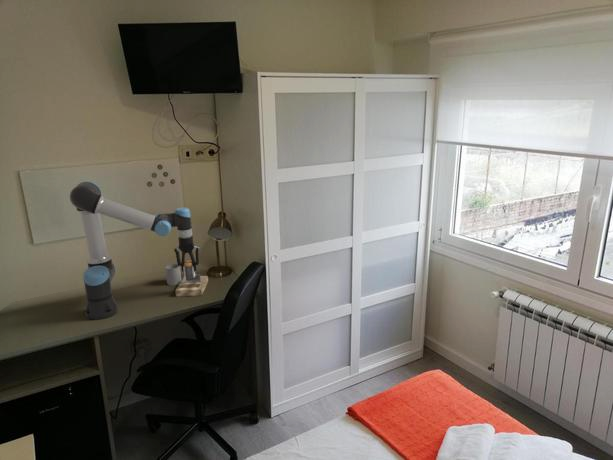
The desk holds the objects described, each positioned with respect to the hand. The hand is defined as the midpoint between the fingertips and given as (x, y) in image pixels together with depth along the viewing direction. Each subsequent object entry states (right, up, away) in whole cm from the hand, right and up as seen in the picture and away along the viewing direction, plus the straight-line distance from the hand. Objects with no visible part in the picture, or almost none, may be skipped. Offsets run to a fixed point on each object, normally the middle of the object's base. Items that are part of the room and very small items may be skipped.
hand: (189, 276), depth 252 cm
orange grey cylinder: (0, -1, 0) cm, 1 cm away
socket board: (0, -7, +6) cm, 10 cm away
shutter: (0, -3, +8) cm, 9 cm away
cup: (-13, -5, +17) cm, 22 cm away
